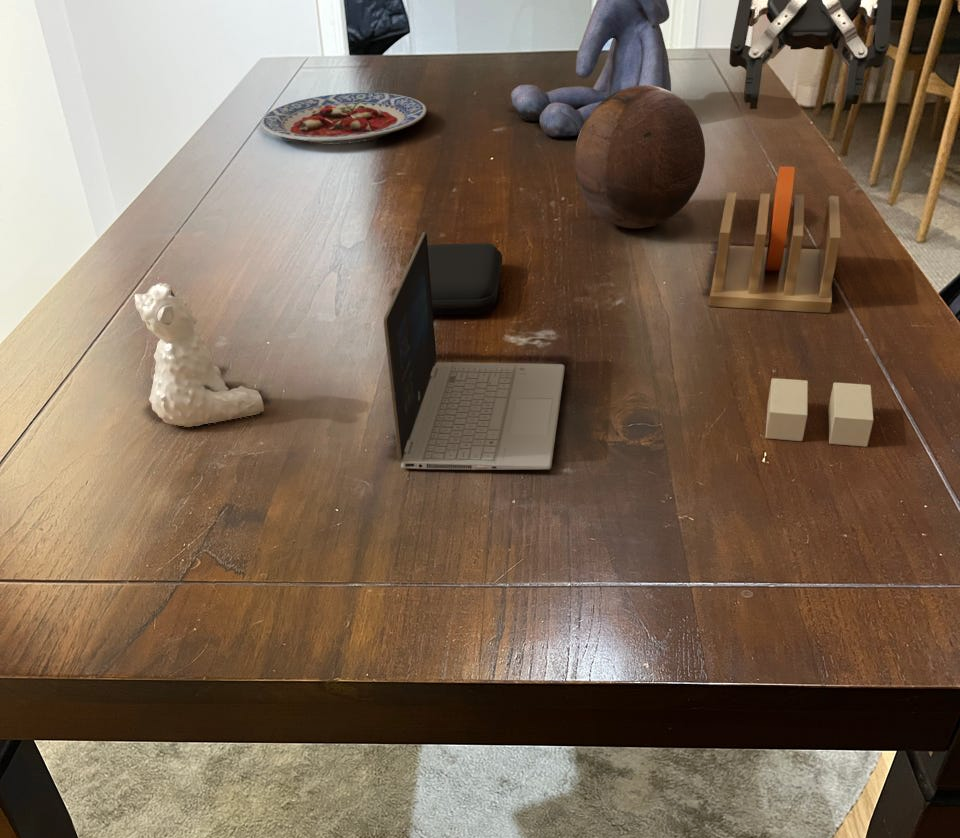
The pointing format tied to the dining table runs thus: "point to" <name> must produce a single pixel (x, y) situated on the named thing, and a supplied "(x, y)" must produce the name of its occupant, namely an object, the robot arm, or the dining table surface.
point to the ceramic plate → (344, 117)
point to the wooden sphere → (639, 156)
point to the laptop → (462, 393)
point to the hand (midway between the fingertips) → (800, 105)
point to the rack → (801, 271)
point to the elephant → (631, 62)
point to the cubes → (845, 412)
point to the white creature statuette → (187, 367)
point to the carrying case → (464, 277)
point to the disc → (780, 218)
